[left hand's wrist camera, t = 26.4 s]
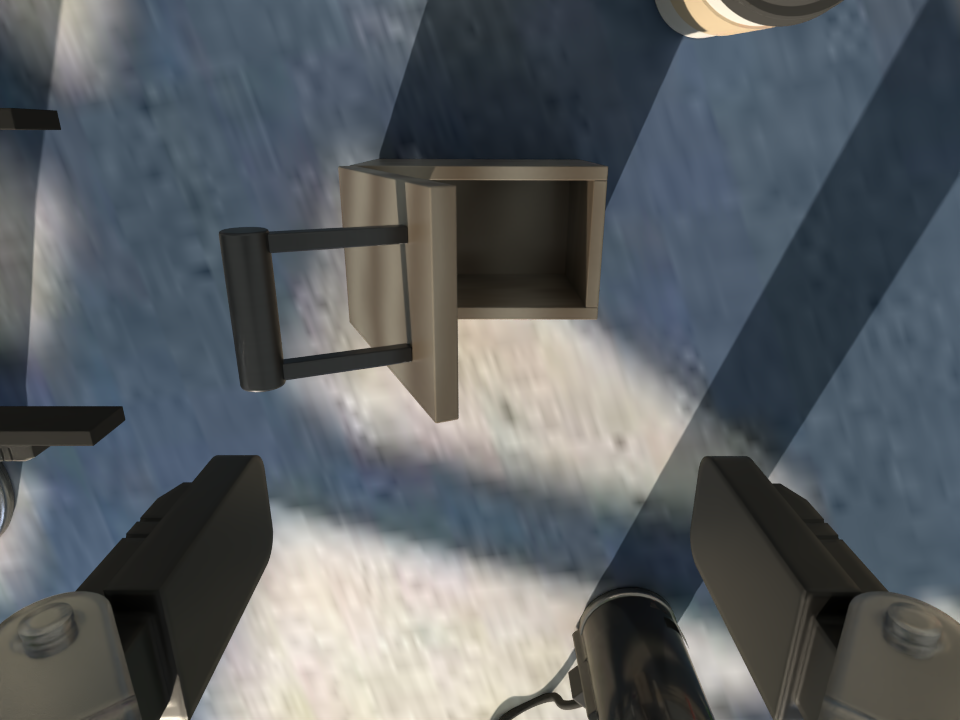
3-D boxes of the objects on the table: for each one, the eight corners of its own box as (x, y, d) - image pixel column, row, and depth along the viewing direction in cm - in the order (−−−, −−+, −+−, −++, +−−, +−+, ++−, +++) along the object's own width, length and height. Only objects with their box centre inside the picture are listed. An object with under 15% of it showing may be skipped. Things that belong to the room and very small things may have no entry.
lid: (456, 185, 22) (214, 192, 19) (459, 419, 25) (252, 458, 22) (355, 165, 35) (204, 168, 32) (365, 320, 38) (229, 336, 35)
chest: (580, 159, 45) (608, 166, 36) (573, 282, 49) (597, 319, 39) (377, 158, 45) (349, 165, 36) (383, 281, 49) (359, 319, 39)
